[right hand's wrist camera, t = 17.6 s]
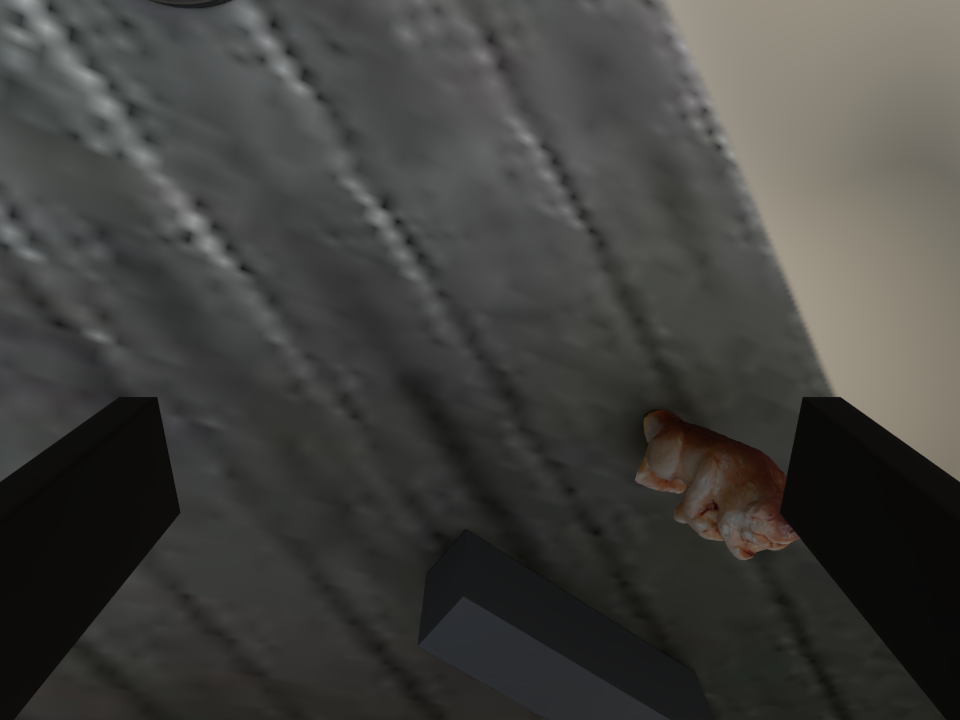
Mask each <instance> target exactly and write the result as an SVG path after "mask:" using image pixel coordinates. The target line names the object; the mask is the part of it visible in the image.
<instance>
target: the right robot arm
mask: <svg viewBox="0 0 960 720" xmlns="http://www.w3.org/2000/svg"><path fill="white" fill-rule="evenodd" d="M150 1H153V2H156V3H159V4H162V5H167V6H172V7H180V8H204V7H211V6H216V5H220V4H223V3H226V2H229V1H231V0H150ZM179 514H180V508H179V503H178V498H177V493H176V488H175V483H174V478H173V473H172V468H171V463H170V458H169V453H168V449H167V444H166V439H165V434H164V429H163V424H162V419H161V414H160V409H159V404H158V399H157V397H119V398H118V399H116V400H115V401H113V402H112V403H111V404H109V405H108V406H106V407H105V408H104V409H102V410H101V411H99V412H98V413H96V414H95V415H94V416H92V417H91V418H89V419H88V420H87V421H85V422H84V423H82V424H81V425H80V426H78V427H77V428H75V429H74V430H73V431H71V432H70V433H68V434H67V435H66V436H64V437H63V438H61V439H60V440H59V441H57V442H56V443H54V444H53V445H52V446H50V447H49V448H47V449H46V450H45V451H43V452H42V453H40V454H39V455H38V456H36V457H35V458H33V459H32V460H30V461H29V462H28V463H26V464H25V465H23V466H22V467H21V468H19V469H18V470H16V471H15V472H14V473H12V474H11V475H9V476H8V477H7V478H5V479H4V480H2V481H1V482H0V720H14V719H15V718H16V716H17V715H18V714H19V713H20V711H21V710H22V709H23V708H24V706H25V705H26V704H27V703H28V701H29V700H30V699H31V698H32V696H33V695H34V694H35V693H36V691H37V690H38V689H39V688H40V686H41V685H42V684H43V683H44V682H45V680H46V679H47V678H48V677H49V675H50V674H51V673H52V672H53V670H54V669H55V668H56V667H57V665H58V664H59V663H60V662H61V660H62V659H63V658H64V657H65V655H66V654H67V653H68V652H69V650H70V649H71V648H72V647H73V645H74V644H75V643H76V642H77V641H78V639H79V638H80V637H81V636H82V634H83V633H84V632H85V631H86V629H87V628H88V627H89V626H90V624H91V623H92V622H93V621H94V619H95V618H96V617H97V616H98V614H99V613H100V612H101V611H102V609H103V608H104V607H105V606H106V604H107V603H108V602H109V601H110V600H111V598H112V597H113V596H114V595H115V593H116V592H117V591H118V590H119V588H120V587H121V586H122V585H123V583H124V582H125V581H126V580H127V578H128V577H129V576H130V575H131V573H132V572H133V571H134V570H135V568H136V567H137V566H138V565H139V563H140V562H141V561H142V560H143V559H144V557H145V556H146V555H147V554H148V552H149V551H150V550H151V549H152V547H153V546H154V545H155V544H156V542H157V541H158V540H159V539H160V537H161V536H162V535H163V534H164V532H165V531H166V530H167V529H168V527H169V526H170V525H171V524H172V522H173V521H174V520H175V519H176V518H177V516H178V515H179ZM780 514H781V515H782V516H783V518H784V519H785V520H786V521H787V522H788V524H789V525H790V526H791V527H792V529H793V530H794V531H795V532H796V534H797V535H798V536H799V537H800V539H801V540H802V541H803V542H804V544H805V545H806V546H807V547H808V549H809V550H810V551H811V552H812V554H813V555H814V556H815V557H816V559H817V560H818V561H819V562H820V563H821V565H822V566H823V567H824V568H825V570H826V571H827V572H828V573H829V575H830V576H831V577H832V578H833V580H834V581H835V582H836V583H837V585H838V586H839V587H840V588H841V590H842V591H843V592H844V593H845V595H846V596H847V597H848V598H849V600H850V601H851V602H852V603H853V604H854V606H855V607H856V608H857V609H858V611H859V612H860V613H861V614H862V616H863V617H864V618H865V619H866V621H867V622H868V623H869V624H870V626H871V627H872V628H873V629H874V631H875V632H876V633H877V634H878V636H879V637H880V638H881V639H882V641H883V642H884V643H885V644H886V645H887V647H888V648H889V649H890V650H891V652H892V653H893V654H894V655H895V657H896V658H897V659H898V660H899V662H900V663H901V664H902V665H903V667H904V668H905V669H906V670H907V672H908V673H909V674H910V675H911V677H912V678H913V679H914V680H915V682H916V683H917V684H918V685H919V686H920V688H921V689H922V690H923V691H924V693H925V694H926V695H927V696H928V698H929V699H930V700H931V701H932V703H933V704H934V705H935V706H936V708H937V709H938V710H939V711H940V713H941V714H942V715H943V716H944V718H945V719H946V720H960V482H959V481H958V480H956V479H955V478H953V477H952V476H951V475H949V474H948V473H946V472H945V471H944V470H942V469H941V468H939V467H938V466H937V465H935V464H934V463H932V462H931V461H929V460H928V459H927V458H925V457H924V456H922V455H921V454H920V453H918V452H917V451H915V450H914V449H913V448H911V447H910V446H908V445H907V444H906V443H904V442H903V441H901V440H900V439H899V438H897V437H896V436H894V435H893V434H892V433H890V432H889V431H887V430H886V429H885V428H883V427H882V426H880V425H879V424H878V423H876V422H875V421H873V420H872V419H871V418H869V417H868V416H866V415H865V414H864V413H862V412H861V411H859V410H858V409H856V408H855V407H854V406H852V405H851V404H849V403H848V402H847V401H845V400H844V399H842V398H841V397H803V399H802V404H801V409H800V414H799V419H798V424H797V429H796V434H795V439H794V444H793V448H792V453H791V458H790V463H789V468H788V473H787V478H786V483H785V488H784V493H783V498H782V503H781V508H780Z"/></svg>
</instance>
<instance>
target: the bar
mask: <svg viewBox="0 0 960 720" xmlns="http://www.w3.org/2000/svg"><path fill="white" fill-rule="evenodd" d="M418 647H420V648H421V649H423V650H425V651H427V652H428V653H430V654H432V655H434V656H436V657H437V658H439V659H441V660H443V661H444V662H446V663H448V664H450V665H452V666H453V667H455V668H457V669H459V670H460V671H462V672H464V673H466V674H467V675H469V676H471V677H473V678H475V679H476V680H478V681H480V682H482V683H483V684H485V685H487V686H489V687H490V688H492V689H494V690H496V691H498V692H499V693H501V694H503V695H505V696H506V697H508V698H510V699H512V700H513V701H515V702H517V703H519V704H521V705H522V706H524V707H526V708H528V709H529V710H531V711H533V712H535V713H536V714H538V715H540V716H542V717H544V718H545V719H547V720H714V717H713V715H712V712H711V710H710V708H709V705H708V703H707V700H706V698H705V695H704V693H703V690H702V688H701V685H700V683H699V680H698V678H697V675H696V673H694V672H693V671H691V670H690V669H688V668H686V667H685V666H683V665H682V664H680V663H678V662H677V661H675V660H674V659H672V658H671V657H669V656H667V655H666V654H664V653H663V652H661V651H659V650H658V649H656V648H655V647H653V646H651V645H650V644H648V643H647V642H645V641H643V640H642V639H640V638H639V637H637V636H635V635H634V634H632V633H631V632H629V631H627V630H626V629H624V628H623V627H621V626H619V625H618V624H616V623H615V622H613V621H611V620H610V619H608V618H607V617H605V616H603V615H602V614H600V613H599V612H597V611H595V610H594V609H592V608H591V607H589V606H587V605H586V604H584V603H583V602H581V601H579V600H578V599H576V598H575V597H573V596H572V595H570V594H568V593H567V592H565V591H564V590H562V589H560V588H559V587H557V586H556V585H554V584H552V583H551V582H549V581H548V580H546V579H544V578H543V577H541V576H540V575H538V574H536V573H535V572H533V571H532V570H530V569H528V568H527V567H525V566H524V565H522V564H520V563H519V562H517V561H516V560H514V559H512V558H511V557H509V556H508V555H506V554H504V553H503V552H501V551H500V550H498V549H496V548H495V547H493V546H492V545H490V544H488V543H487V542H485V541H484V540H482V539H480V538H479V537H477V536H476V535H474V534H473V533H471V532H469V531H468V530H465V531H464V532H463V533H462V534H461V535H460V536H459V538H458V539H457V540H456V541H455V542H454V543H453V544H452V545H451V547H450V548H449V549H448V550H447V551H446V552H445V553H444V555H443V556H442V557H441V558H440V559H439V560H438V561H437V563H436V564H435V565H434V566H433V567H432V568H431V569H430V571H429V572H428V573H427V574H426V582H425V590H424V598H423V607H422V615H421V623H420V631H419V639H418Z"/></svg>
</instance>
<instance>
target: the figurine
mask: <svg viewBox="0 0 960 720" xmlns="http://www.w3.org/2000/svg"><path fill="white" fill-rule="evenodd" d="M644 434H645V436H646V440H647V442H648V443H649V444H648V447H647V450H646V453H645V456H644V459H643V461H642V464H641V466H640V468H639V470H638V472H637V476H636V479H635V480H636V483H639V484H642V485H644V486H645V487H647V488H652V489H655V490H658V491H667V492H674V493H676V494H679V493H682V492H684V491H685V489H686V487H687V486H688V489H687V490H686V491H685V493H684V500H683V501H682V502H681V504H680V505H678V506H677V507H676V508H675V511H674V519H675V520H676V521H678V522H681V523H688V524H689V525H690V526H691V527H692V528H693V529H694V530H695V531H696V532H697V533H698V534H699V535H700V536H701V537H703V538H705V539H710V540H718V541H723V540H724V541H725V543H726V545H727V547H728V548H729V550H730V551H731V553H732V554H733V555H734V556H735V557H737V558H738V559H741V560H747V559H750V558H752V557H753V556H754V555H755V553H756V552H758V551H761V550H764V549H770V550H779V549H783V548H785V547H786V546H787V545H788V544H789V543H791V542H793V541H795V540H797V539H800V537H799V536H798V535H797V534H796V532H795V531H794V530H793V529H792V527H791V526H790V525H789V524H788V522H787V521H786V520H785V519H784V518H783V516H782V515H781V514H780V508H781V503H782V498H783V493H784V488H785V483H786V476H785V474H784V473H783V472H782V471H781V470H780V469H779V468H778V466H777V465H776V464H775V463H774V462H773V461H772V460H771V459H770V458H769V457H768V456H767V455H765V454H764V453H763V452H761V451H760V450H758V449H755V448H752V447H750V446H749V445H745V444H743V443H741V442H739V441H735V440H733V439H730V438H728V437H726V436H724V435H721V434H718V433H716V432H714V431H711V430H709V429H707V428H704V427H701V426H697V425H695V424H689V423H686V422H684V421H683V420H682V419H681V418H680V417H678V416H676V415H675V414H674V413H670V412H668V411H664V410H658V411H654V412H651V413H649V414H648V415H647V416H646V417H645V418H644Z"/></svg>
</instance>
